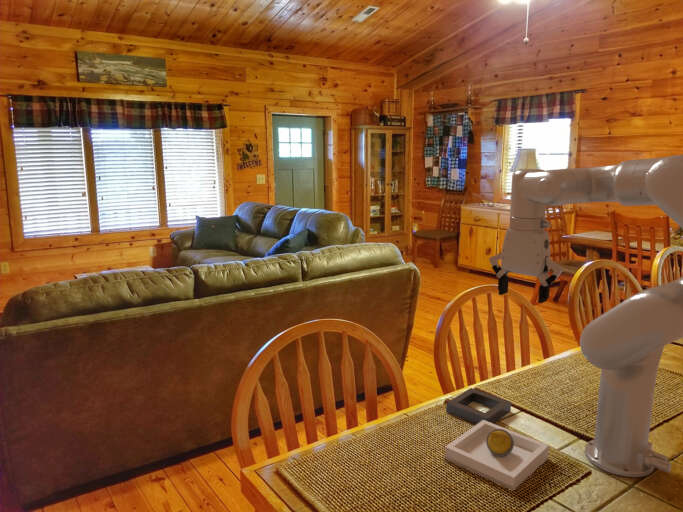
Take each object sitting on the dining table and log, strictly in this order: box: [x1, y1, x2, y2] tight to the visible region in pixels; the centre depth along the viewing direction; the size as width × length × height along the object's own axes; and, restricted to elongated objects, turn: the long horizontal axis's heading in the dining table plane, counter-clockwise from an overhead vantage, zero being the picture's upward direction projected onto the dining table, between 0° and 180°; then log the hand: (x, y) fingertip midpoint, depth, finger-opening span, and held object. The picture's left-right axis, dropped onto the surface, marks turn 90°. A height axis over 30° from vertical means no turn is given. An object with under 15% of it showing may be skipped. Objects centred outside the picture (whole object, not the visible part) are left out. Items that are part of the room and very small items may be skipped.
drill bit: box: [486, 429, 514, 457], centre depth 109 cm, size 5×5×10 cm
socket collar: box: [445, 387, 512, 425], centre depth 129 cm, size 11×11×2 cm
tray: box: [444, 420, 550, 492], centre depth 110 cm, size 15×15×3 cm
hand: (522, 297), depth 124 cm, fingers open, 9 cm apart
